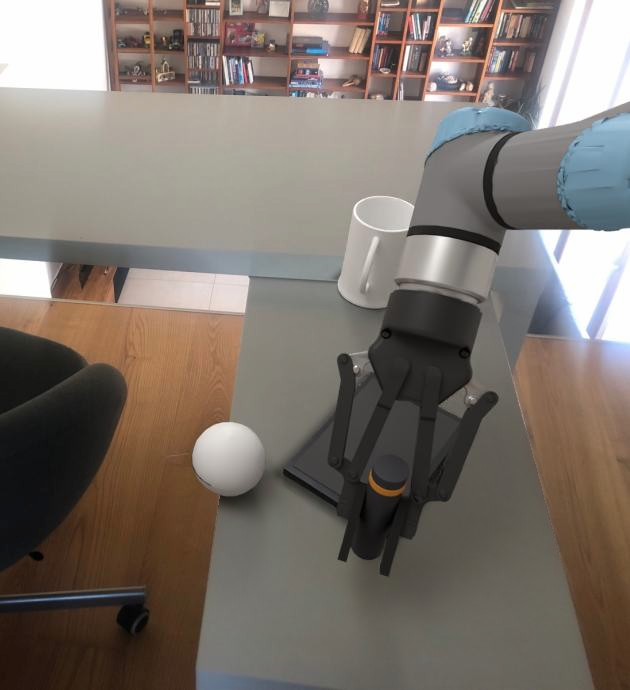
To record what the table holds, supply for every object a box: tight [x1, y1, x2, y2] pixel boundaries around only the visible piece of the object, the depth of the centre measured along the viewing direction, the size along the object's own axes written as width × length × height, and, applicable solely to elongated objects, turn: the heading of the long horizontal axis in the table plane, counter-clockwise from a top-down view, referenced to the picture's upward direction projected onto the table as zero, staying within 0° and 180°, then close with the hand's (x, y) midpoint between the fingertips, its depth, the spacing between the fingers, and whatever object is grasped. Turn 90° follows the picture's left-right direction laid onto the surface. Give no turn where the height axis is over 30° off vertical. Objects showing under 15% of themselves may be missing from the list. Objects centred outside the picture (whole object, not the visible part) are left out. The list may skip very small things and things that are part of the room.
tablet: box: [282, 371, 462, 540], centre depth 74 cm, size 12×18×1 cm, turn 139°
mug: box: [337, 195, 415, 310], centre depth 88 cm, size 12×8×12 cm
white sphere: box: [165, 421, 267, 497], centre depth 69 cm, size 10×7×7 cm
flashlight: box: [350, 454, 409, 561], centre depth 60 cm, size 3×3×12 cm
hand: (363, 563), depth 59 cm, fingers closed on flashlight, 3 cm apart
